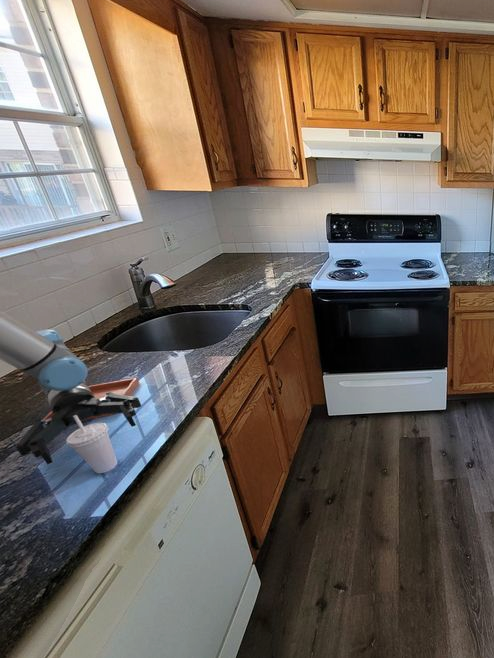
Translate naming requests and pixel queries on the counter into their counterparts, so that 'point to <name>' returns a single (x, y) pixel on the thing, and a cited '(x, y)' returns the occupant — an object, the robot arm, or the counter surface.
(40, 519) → the counter surface
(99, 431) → the smoothie
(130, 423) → the robot arm
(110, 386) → the tray
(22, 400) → the counter surface
